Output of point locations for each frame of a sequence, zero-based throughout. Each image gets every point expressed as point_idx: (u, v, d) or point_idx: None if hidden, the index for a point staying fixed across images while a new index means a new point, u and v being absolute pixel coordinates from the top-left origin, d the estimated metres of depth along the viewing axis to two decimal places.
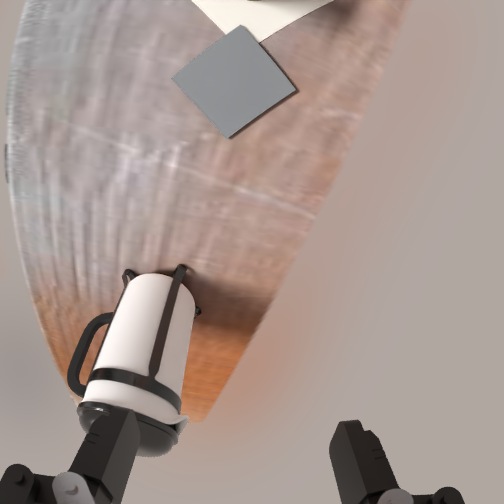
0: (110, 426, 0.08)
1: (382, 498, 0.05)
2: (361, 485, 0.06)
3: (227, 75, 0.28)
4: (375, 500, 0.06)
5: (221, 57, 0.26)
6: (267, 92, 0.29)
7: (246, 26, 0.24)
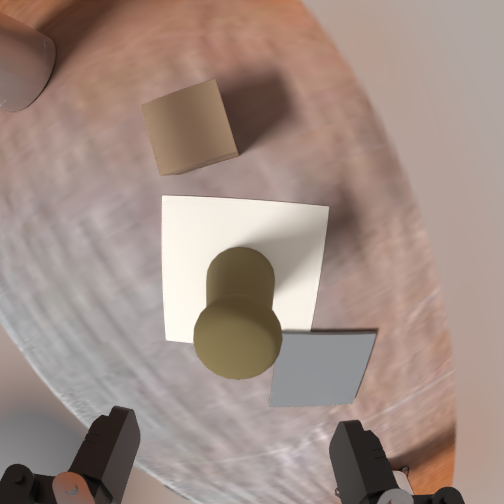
0: (110, 426, 0.08)
1: (383, 498, 0.05)
2: (361, 485, 0.06)
3: (312, 374, 0.28)
4: (375, 500, 0.06)
5: (294, 368, 0.28)
6: (355, 357, 0.27)
7: (285, 328, 0.27)
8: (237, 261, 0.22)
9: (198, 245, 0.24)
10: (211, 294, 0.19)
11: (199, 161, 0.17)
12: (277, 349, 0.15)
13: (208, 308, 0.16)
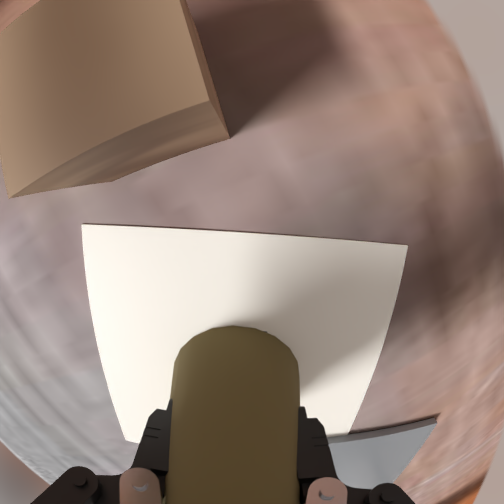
0: (170, 418, 0.09)
1: (311, 490, 0.06)
2: None
3: (342, 476, 0.15)
4: (309, 487, 0.07)
5: None
6: (404, 451, 0.15)
7: None
8: (226, 374, 0.09)
9: (154, 321, 0.12)
10: (170, 462, 0.07)
11: (91, 145, 0.05)
12: None
13: None
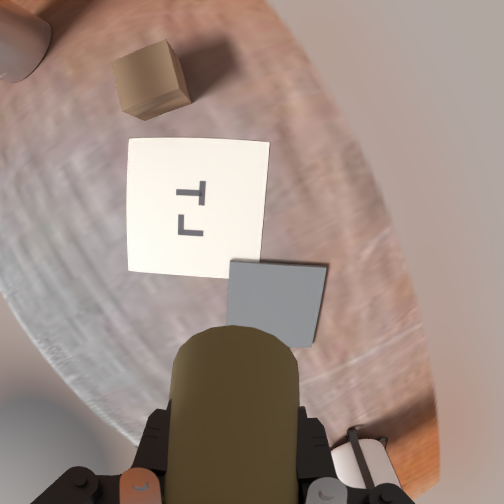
0: None
1: (311, 490, 0.06)
2: None
3: (265, 308, 0.31)
4: None
5: (245, 300, 0.30)
6: (307, 292, 0.30)
7: (235, 257, 0.30)
8: (225, 373, 0.09)
9: (157, 178, 0.27)
10: (169, 461, 0.07)
11: (151, 98, 0.19)
12: None
13: None
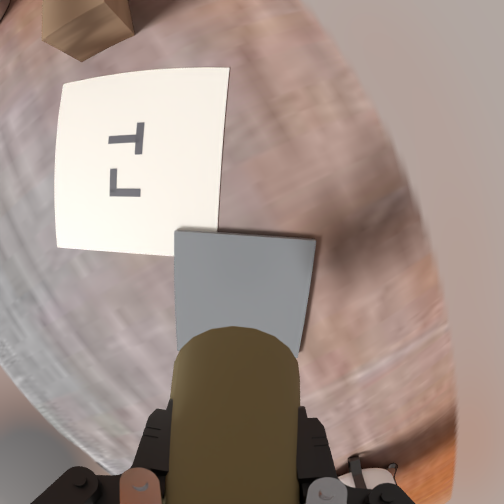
0: (170, 418, 0.09)
1: (311, 490, 0.06)
2: None
3: (228, 301, 0.21)
4: (309, 487, 0.07)
5: (199, 288, 0.21)
6: (289, 277, 0.21)
7: (183, 225, 0.20)
8: (226, 374, 0.09)
9: (88, 126, 0.18)
10: (170, 462, 0.07)
11: (73, 19, 0.11)
12: None
13: None
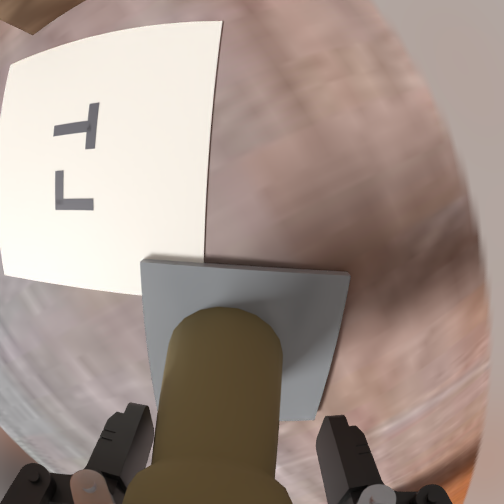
0: (126, 423, 0.08)
1: (364, 495, 0.06)
2: (344, 479, 0.07)
3: None
4: (358, 495, 0.06)
5: None
6: (309, 327, 0.14)
7: (153, 252, 0.13)
8: (209, 346, 0.11)
9: (32, 114, 0.11)
10: (159, 423, 0.08)
11: None
12: None
13: (134, 496, 0.05)
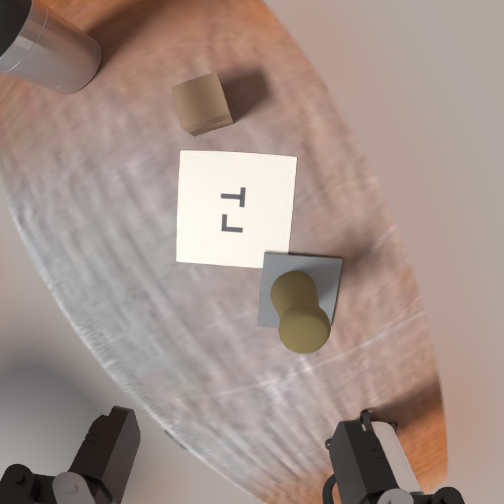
0: (110, 426, 0.08)
1: (382, 498, 0.05)
2: (361, 485, 0.06)
3: None
4: (375, 500, 0.06)
5: None
6: (327, 280, 0.36)
7: (268, 250, 0.36)
8: (295, 281, 0.33)
9: (205, 184, 0.34)
10: (283, 304, 0.31)
11: (206, 119, 0.27)
12: (328, 333, 0.27)
13: (289, 312, 0.27)
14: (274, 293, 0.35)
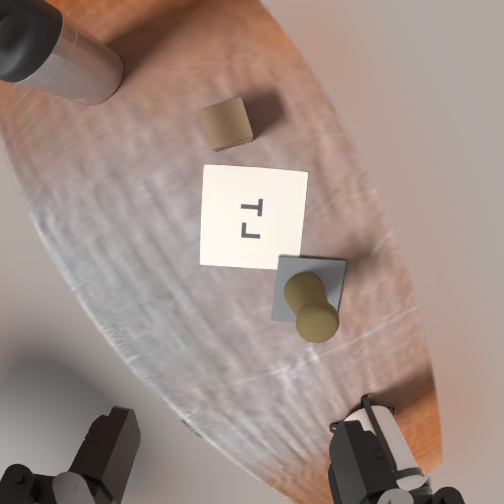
0: (110, 426, 0.08)
1: (383, 498, 0.05)
2: (362, 485, 0.06)
3: None
4: (375, 500, 0.06)
5: None
6: (333, 279, 0.42)
7: (282, 253, 0.41)
8: (306, 281, 0.39)
9: (226, 196, 0.39)
10: (298, 301, 0.36)
11: (233, 141, 0.31)
12: (338, 325, 0.32)
13: (305, 308, 0.32)
14: (288, 291, 0.40)
